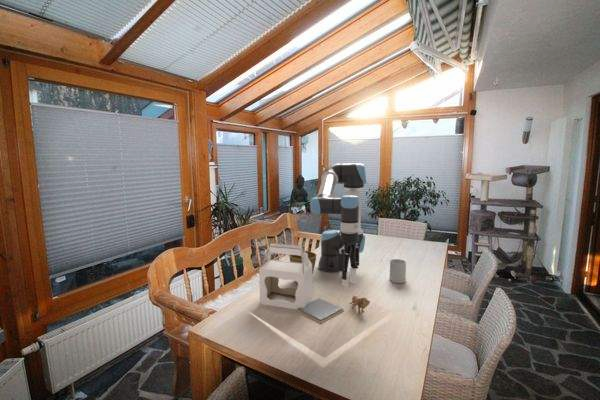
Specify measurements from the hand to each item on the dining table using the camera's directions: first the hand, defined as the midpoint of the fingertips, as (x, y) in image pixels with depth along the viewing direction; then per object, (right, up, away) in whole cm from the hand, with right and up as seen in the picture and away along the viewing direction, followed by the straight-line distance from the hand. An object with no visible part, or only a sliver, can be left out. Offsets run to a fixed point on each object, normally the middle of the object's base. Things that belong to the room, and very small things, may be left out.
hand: (348, 284), depth 125 cm
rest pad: (-12, -12, +2) cm, 18 cm away
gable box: (-28, -12, +13) cm, 33 cm away
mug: (+35, -9, +38) cm, 52 cm away
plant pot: (-20, -9, +34) cm, 41 cm away
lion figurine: (+5, -13, +3) cm, 14 cm away
